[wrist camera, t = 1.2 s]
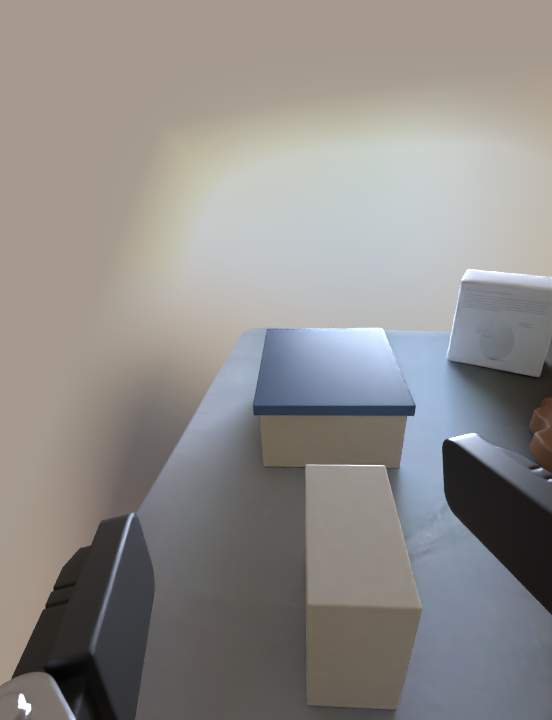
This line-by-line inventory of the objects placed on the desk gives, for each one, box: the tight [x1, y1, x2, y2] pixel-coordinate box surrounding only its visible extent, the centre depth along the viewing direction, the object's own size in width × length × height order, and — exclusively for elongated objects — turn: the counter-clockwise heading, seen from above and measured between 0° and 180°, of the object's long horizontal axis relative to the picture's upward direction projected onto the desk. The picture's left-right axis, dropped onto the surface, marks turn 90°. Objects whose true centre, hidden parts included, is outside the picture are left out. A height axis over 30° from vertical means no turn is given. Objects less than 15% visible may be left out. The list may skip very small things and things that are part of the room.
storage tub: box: [253, 328, 416, 468], centre depth 39 cm, size 13×15×7 cm
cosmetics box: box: [446, 269, 552, 377], centre depth 49 cm, size 10×6×10 cm, turn 60°
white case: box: [305, 465, 422, 710], centre depth 22 cm, size 5×8×9 cm, turn 177°
